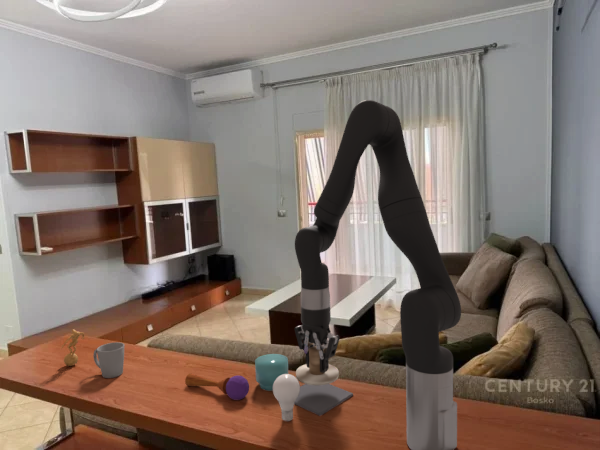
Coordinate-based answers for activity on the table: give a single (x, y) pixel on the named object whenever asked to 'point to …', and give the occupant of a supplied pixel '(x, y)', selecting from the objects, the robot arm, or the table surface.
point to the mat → (321, 397)
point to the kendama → (222, 385)
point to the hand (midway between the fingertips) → (317, 368)
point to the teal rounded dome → (270, 369)
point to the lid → (316, 371)
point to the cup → (110, 359)
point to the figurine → (71, 357)
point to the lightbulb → (286, 394)
